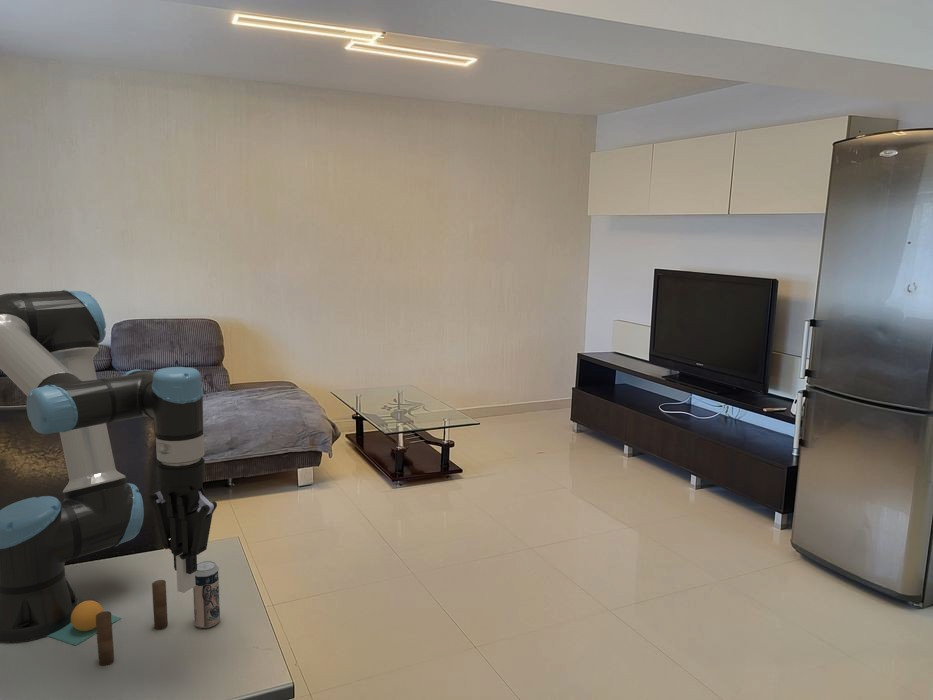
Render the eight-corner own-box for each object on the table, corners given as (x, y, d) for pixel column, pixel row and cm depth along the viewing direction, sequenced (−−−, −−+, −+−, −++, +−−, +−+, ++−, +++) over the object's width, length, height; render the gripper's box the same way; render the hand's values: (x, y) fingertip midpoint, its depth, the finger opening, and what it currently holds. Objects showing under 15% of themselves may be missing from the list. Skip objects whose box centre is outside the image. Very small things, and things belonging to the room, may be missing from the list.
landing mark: (37, 632, 131) (37, 631, 131) (84, 607, 140) (84, 606, 140) (75, 645, 127) (75, 644, 127) (121, 618, 137) (121, 617, 136)
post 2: (151, 627, 134) (149, 584, 132) (161, 621, 136) (158, 578, 134) (161, 630, 133) (158, 587, 131) (170, 624, 135) (168, 581, 133)
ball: (85, 614, 128) (85, 640, 129) (110, 600, 133) (110, 625, 134) (63, 605, 130) (63, 631, 131) (88, 591, 135) (88, 617, 136)
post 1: (95, 663, 122) (92, 616, 121) (107, 656, 125) (104, 610, 123) (105, 667, 121) (102, 619, 120) (117, 659, 124) (114, 613, 122)
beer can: (211, 631, 133) (209, 573, 131) (189, 628, 134) (186, 570, 132) (225, 618, 138) (223, 561, 136) (203, 614, 139) (201, 558, 137)
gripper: (133, 460, 117) (141, 590, 121) (194, 471, 112) (200, 607, 116) (168, 447, 123) (174, 571, 127) (227, 458, 119) (231, 586, 123)
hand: (186, 588), depth 122 cm, fingers closed
